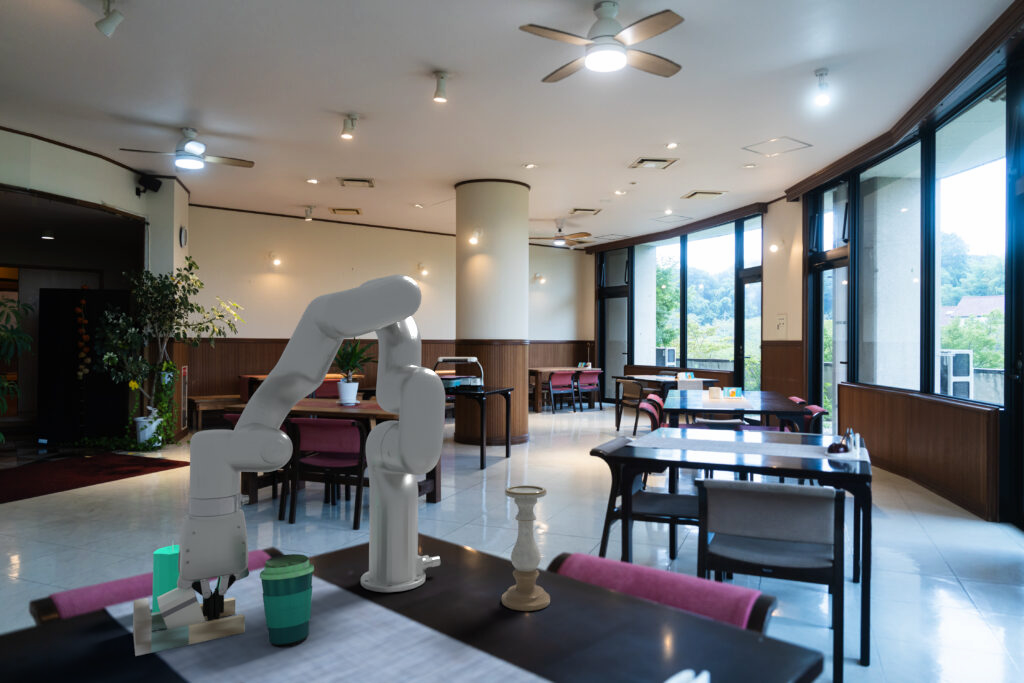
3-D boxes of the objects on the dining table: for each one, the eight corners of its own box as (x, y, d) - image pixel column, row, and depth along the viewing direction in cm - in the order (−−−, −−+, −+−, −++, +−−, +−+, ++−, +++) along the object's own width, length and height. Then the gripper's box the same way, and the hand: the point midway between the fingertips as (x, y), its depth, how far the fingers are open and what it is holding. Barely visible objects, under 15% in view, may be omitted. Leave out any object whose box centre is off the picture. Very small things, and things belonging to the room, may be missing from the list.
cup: (261, 653, 93) (262, 571, 93) (256, 632, 100) (257, 556, 100) (317, 642, 97) (318, 563, 97) (308, 623, 104) (309, 550, 104)
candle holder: (493, 607, 110) (493, 491, 111) (512, 590, 119) (512, 483, 119) (540, 614, 107) (540, 495, 108) (556, 597, 115) (556, 486, 116)
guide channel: (234, 611, 108) (234, 582, 109) (244, 632, 100) (245, 600, 100) (133, 632, 100) (133, 600, 100) (135, 656, 92) (136, 621, 92)
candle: (173, 618, 106) (175, 546, 106) (143, 615, 107) (144, 544, 107) (198, 604, 112) (199, 536, 112) (169, 602, 113) (170, 535, 113)
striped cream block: (203, 613, 104) (190, 581, 103) (207, 624, 99) (193, 590, 99) (170, 630, 101) (156, 597, 100) (172, 642, 97) (158, 607, 96)
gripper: (258, 496, 110) (256, 602, 109) (161, 507, 102) (159, 621, 101) (267, 504, 104) (266, 616, 103) (164, 516, 96) (162, 638, 95)
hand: (213, 618), depth 102 cm, fingers closed
